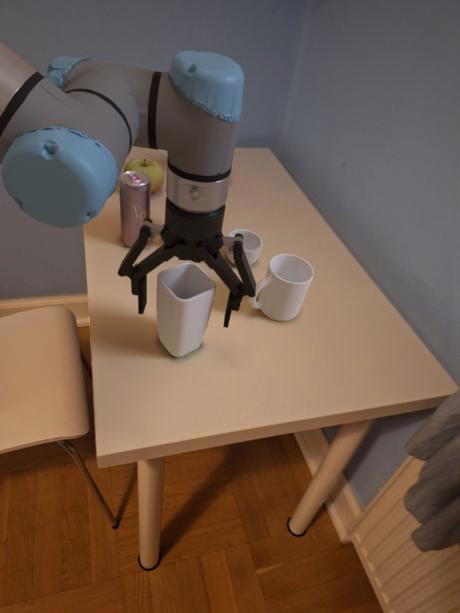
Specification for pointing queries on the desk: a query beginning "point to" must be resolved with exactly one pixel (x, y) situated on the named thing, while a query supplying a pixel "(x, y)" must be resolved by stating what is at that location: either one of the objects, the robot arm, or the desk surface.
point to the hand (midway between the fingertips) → (184, 314)
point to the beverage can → (133, 204)
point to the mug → (283, 287)
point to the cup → (183, 307)
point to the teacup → (248, 245)
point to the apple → (147, 171)
